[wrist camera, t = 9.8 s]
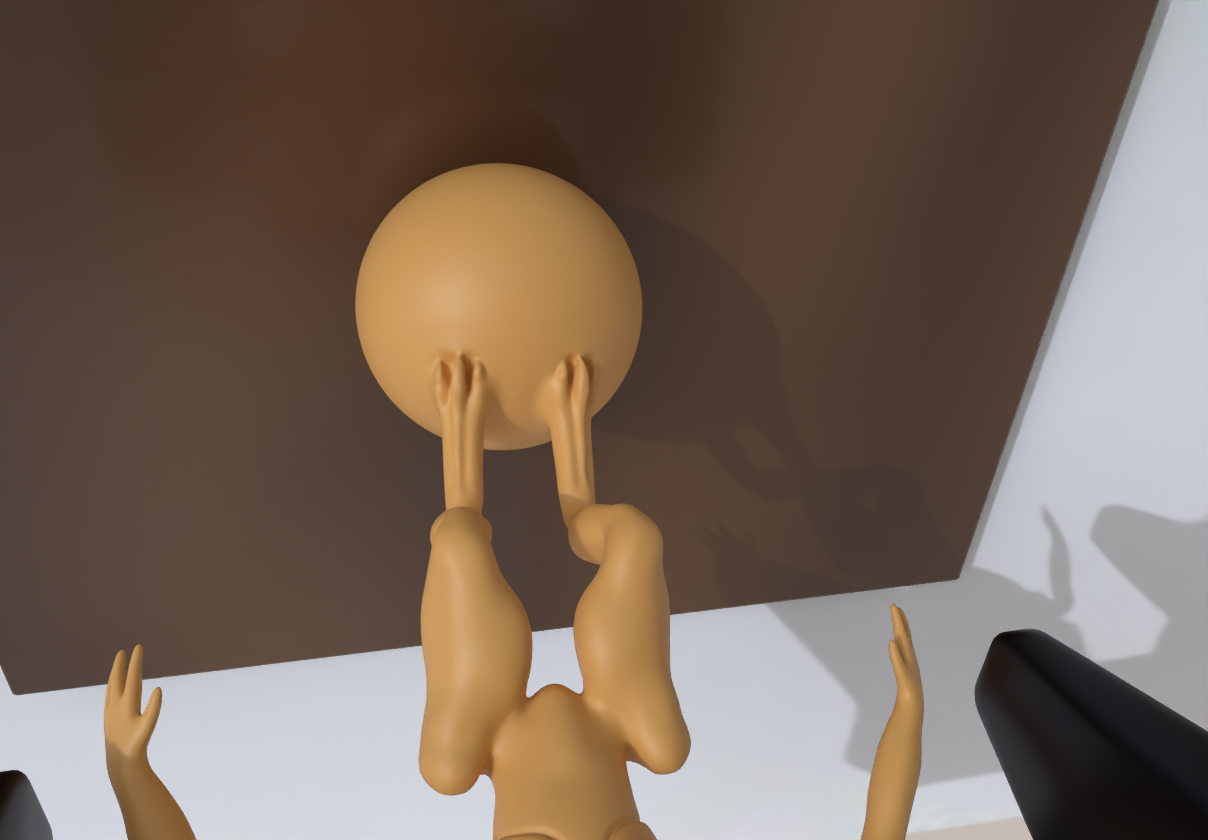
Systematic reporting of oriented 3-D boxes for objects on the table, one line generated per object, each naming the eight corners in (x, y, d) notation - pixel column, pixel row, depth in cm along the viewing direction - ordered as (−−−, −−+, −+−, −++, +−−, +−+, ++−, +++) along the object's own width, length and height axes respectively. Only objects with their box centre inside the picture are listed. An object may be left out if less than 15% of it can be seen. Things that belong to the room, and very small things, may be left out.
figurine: (756, 149, 15) (1539, 836, 5) (685, 459, 18) (1076, 1254, 8) (192, 102, 13) (-419, 1146, 3) (225, 462, 16) (-5, 1544, 6)
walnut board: (1139, -42, 15) (1173, -35, 14) (942, 557, 22) (959, 580, 22) (-293, -85, 11) (-334, -79, 10) (25, 666, 18) (12, 697, 17)
